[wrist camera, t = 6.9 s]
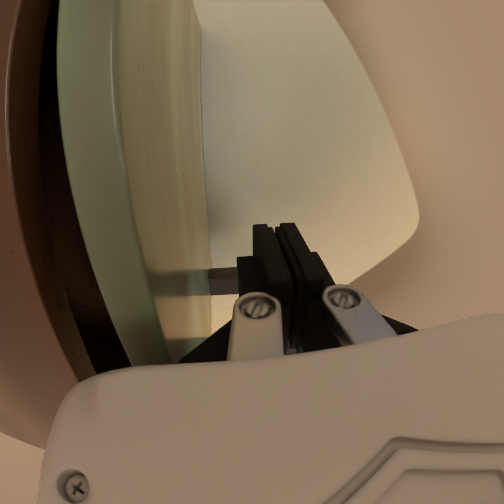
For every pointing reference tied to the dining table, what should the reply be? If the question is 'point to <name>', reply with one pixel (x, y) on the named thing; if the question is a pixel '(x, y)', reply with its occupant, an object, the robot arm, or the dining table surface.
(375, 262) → the dining table surface
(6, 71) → the cupboard
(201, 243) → the cupboard door
